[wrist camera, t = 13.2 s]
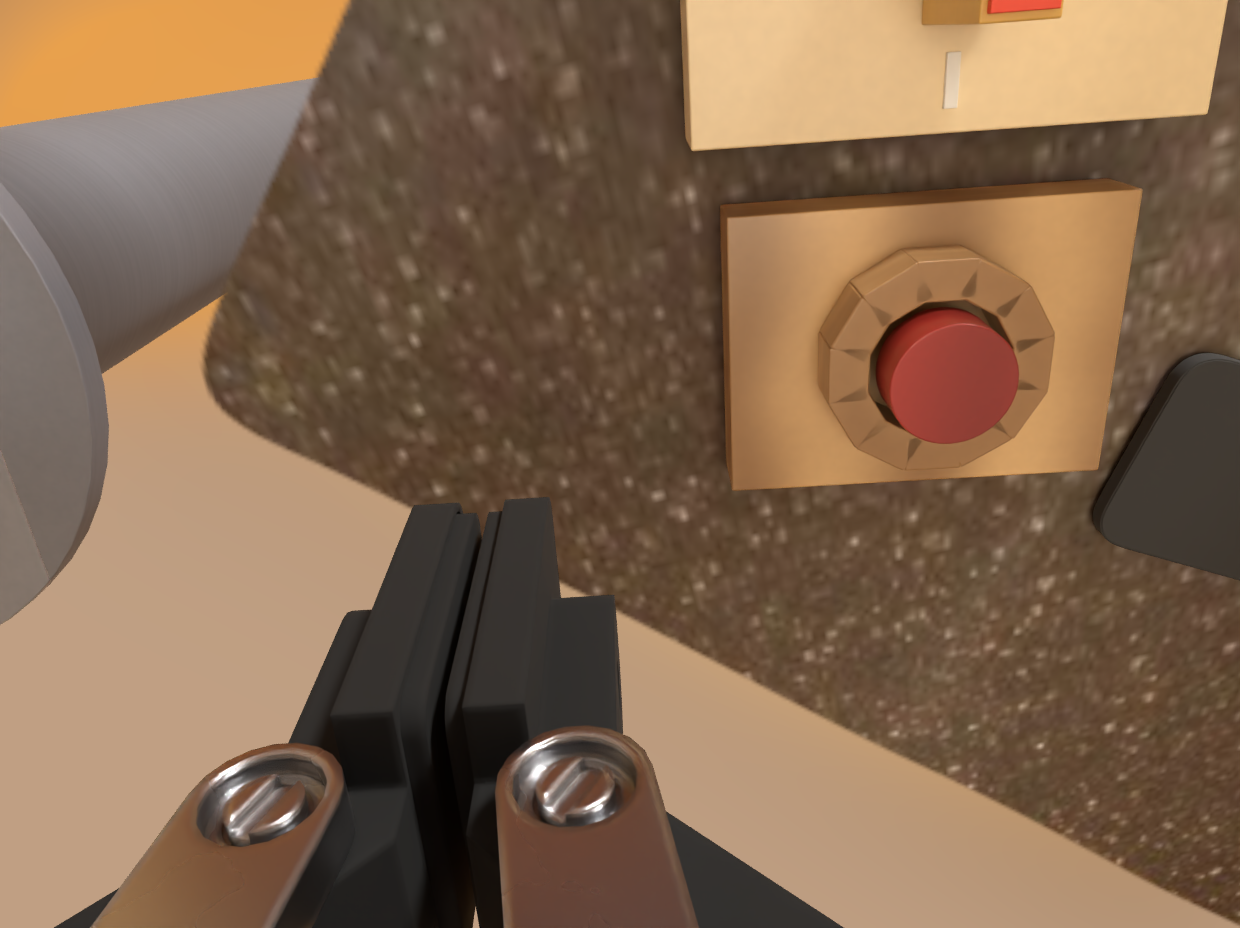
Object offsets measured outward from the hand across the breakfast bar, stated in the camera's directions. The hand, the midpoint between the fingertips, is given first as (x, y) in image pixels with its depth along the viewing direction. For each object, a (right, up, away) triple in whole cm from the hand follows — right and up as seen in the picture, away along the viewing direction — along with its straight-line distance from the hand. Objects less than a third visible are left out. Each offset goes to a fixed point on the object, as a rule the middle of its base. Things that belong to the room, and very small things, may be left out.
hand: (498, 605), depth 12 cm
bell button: (+11, +5, +16) cm, 20 cm away
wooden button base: (+11, +6, +19) cm, 23 cm away
